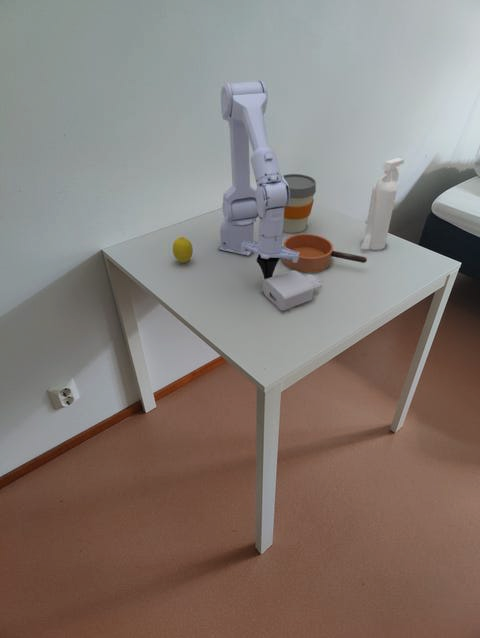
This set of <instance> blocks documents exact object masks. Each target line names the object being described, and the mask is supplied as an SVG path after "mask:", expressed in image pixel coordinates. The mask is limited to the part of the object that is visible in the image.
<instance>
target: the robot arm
mask: <svg viewBox="0 0 480 638" xmlns="http://www.w3.org/2000/svg"><path fill="white" fill-rule="evenodd" d="M268 97H269V96H268V88H267V85H266V83H265V82H264V81H263V80H258V81H248V82H247V81H245V82H232V83H229V82H225V83H224V84H223V85H222V87H221V91H220V108H221V115H222V120H224V121H227V122H228V126H229V127H228V128H229V142H230V143H229V144H230V163H231V178H232V179H231V181H232V182H231V183H232V185H231V186H230V187H229V188H228V189H227V190H226V191H225V192H224V193H223V194H222V205H221V206H222V207H221V208H222V214H223V219H222V221H221V222H220V228H219V229H220V230H219V233H220V234H219V235H220V236H219V237H220V247H219V250H220V251H223V252H224V251H225V252H229V253H233V254H239V255H242V256H249V257H250V255H251V254H252V253H255V254H257V257H256V263H257V264H258V265H259V267H260V269H261V272H262V274H263V275H262V276H263V281H264V280H265V279H268V278H271V277H273V275H274V272H275V269H276V267H277V265H278V263H279V261H280V260H281V259H282V260H283V259H287V260H292V262H294V263H297V261H298V259H299V252H296V251H293V250H290V249H288V248H286V247H284V245H283V236H284V235H283V234H284V231H283V221H284V207H285V206H288V204H289V202H290V190H289V185H288V183H287V182H286V180H285V179H284V177H283V175H281V171H280V167H279V162H278V159H277V154H276V151H275V150H274V149H272V148H270V146H269V141H268V136H267V135H268V134H267V128H266V121H265V113H266V110H267V106H268V105H267V104H268V99H269V98H268ZM250 145H251V149H252V151H253V153H252V155H251V156H250ZM250 165H251V166H250ZM251 167H252V173H253V175H254V180H255V184H256V189H255V188H254V187H253V186H251V170H250V169H251ZM257 219H258V241H254V240H255V239H254V238H255V236H254V235H255V223H256V222H257Z"/></svg>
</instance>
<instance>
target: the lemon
mask: <svg viewBox="0 0 480 638" xmlns="http://www.w3.org/2000/svg"><path fill="white" fill-rule="evenodd" d="M193 251H194V249H193V245H192V242H191V241H190V239H188V238H186V237H185V236H180V237H178V238H177V239H175V240H174V242H173V243H172V254H173V256H174V258H175V259H176V260H177V261H179V262H181V263H186V262H188V261H190V260H191V258H192V256H193V254H194V253H193Z"/></svg>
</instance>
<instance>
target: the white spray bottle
mask: <svg viewBox="0 0 480 638" xmlns="http://www.w3.org/2000/svg"><path fill="white" fill-rule="evenodd" d="M404 162H405V158H399V157H396V158H393V159H389V160H386V161H385V160H384V162H383V166H382V170H384V171H383V174H381V176H380V177H379V178H378V179H377V181H375V182H374V183H373V185H372V190H371V195H370V197H371V198H370V201H369V202H370V203H369V208H368V214H367V220H366V227H365V231H364V238H363V241H362V243H361V245H360V248H361V249H362V250H372V251H380V250H383V249H384V248H385V247H386V243H387V239H388V234H389V228H390V225H391V220H392V215H393V211H394V206H395V200H396V195H397V191H398V190H397V189H398V188H397V182H398V180H399V178H400V177H399V175H400V173H399V170H398V168H397V167H400V166H401V165H404Z"/></svg>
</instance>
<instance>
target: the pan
mask: <svg viewBox="0 0 480 638" xmlns="http://www.w3.org/2000/svg"><path fill="white" fill-rule="evenodd" d="M283 246H284V247H286V248H288V249H290V250H293V251H296V252H299V259H298V261H297V263H294V262H292V260H287V259H282V261H283V263H284V264H285V266H287V267H288V268H290V269H291V270H294V271H297V272H299V273H318V272H322V271H324V270H326V269H328V268H329V267H330V265H331V263H332V261H333V259H332V258H333V257H332V256H331V254H332V251H334V245H333V243H332V242H331V241H330V240H329V239H327V238H326V237H324V236H322V235H317V234H313V233H299V234H295V235H291V236H289V237H287V238H286V239H285V240H284V242H283ZM329 251H330V252H329ZM328 252H329V253H328Z"/></svg>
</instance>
